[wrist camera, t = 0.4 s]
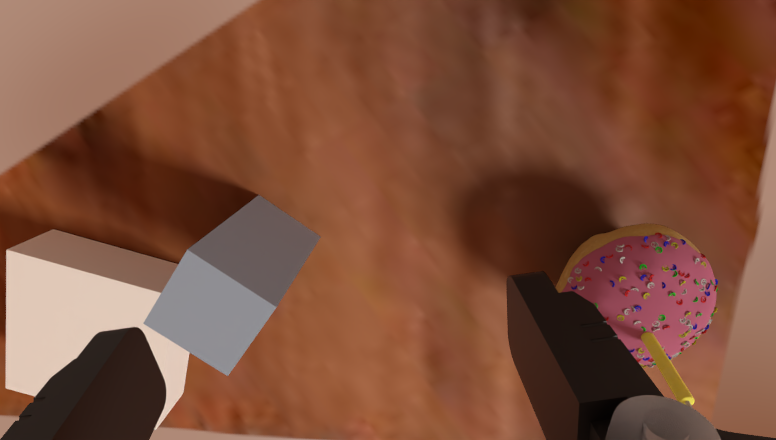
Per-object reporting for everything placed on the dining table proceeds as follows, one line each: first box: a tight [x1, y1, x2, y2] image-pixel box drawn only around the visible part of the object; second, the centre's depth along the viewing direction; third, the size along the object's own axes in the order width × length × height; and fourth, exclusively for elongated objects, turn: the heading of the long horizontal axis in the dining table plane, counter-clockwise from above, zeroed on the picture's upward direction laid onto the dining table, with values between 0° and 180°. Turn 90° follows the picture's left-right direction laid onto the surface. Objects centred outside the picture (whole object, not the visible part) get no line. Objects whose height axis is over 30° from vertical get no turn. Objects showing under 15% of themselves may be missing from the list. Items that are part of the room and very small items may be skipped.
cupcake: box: [555, 224, 718, 408], centre depth 26 cm, size 9×8×12 cm
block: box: [143, 195, 320, 376], centre depth 28 cm, size 5×5×10 cm
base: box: [6, 229, 189, 430], centre depth 34 cm, size 11×11×4 cm
